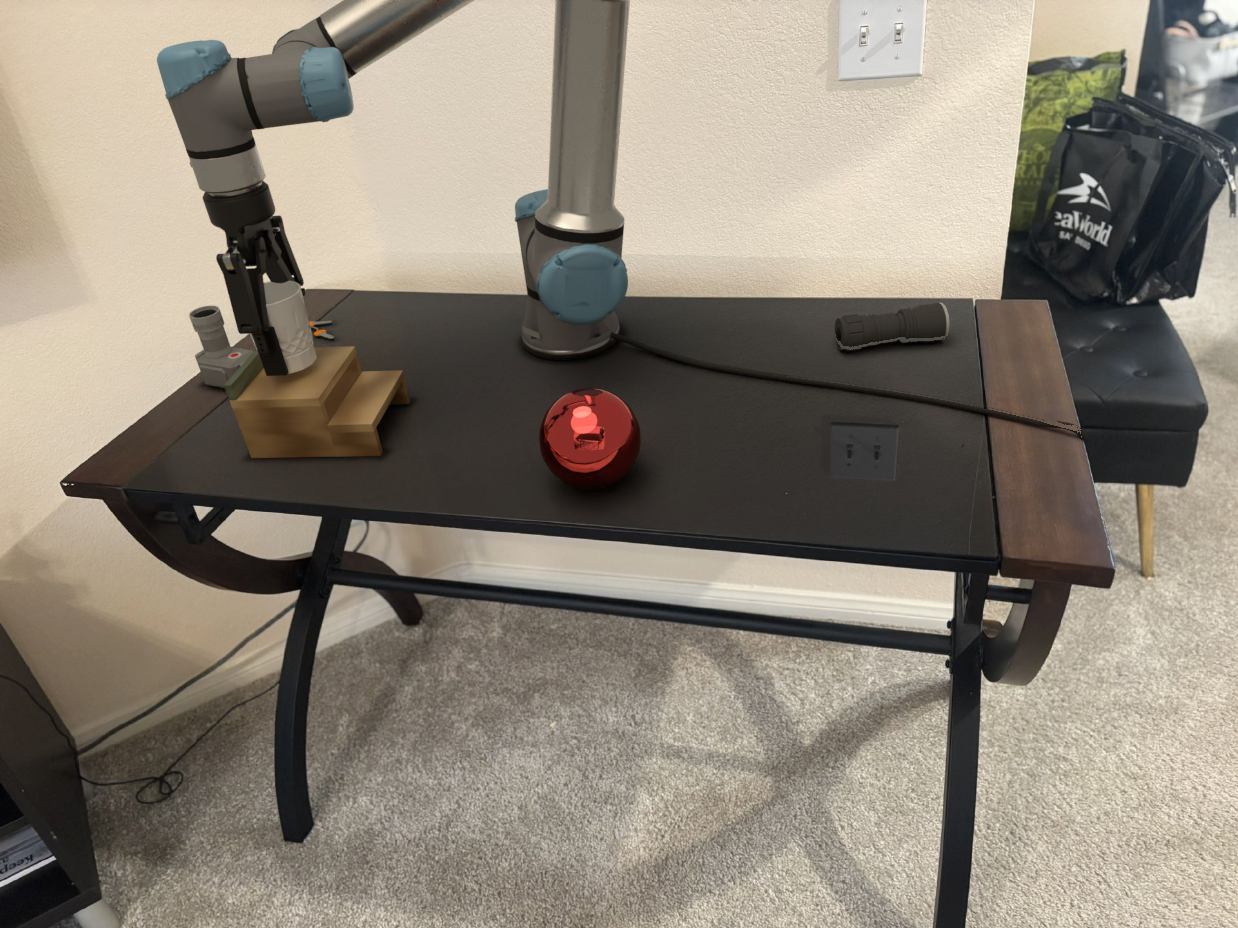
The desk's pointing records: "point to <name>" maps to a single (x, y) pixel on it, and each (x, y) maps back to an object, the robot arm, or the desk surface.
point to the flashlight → (893, 325)
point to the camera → (215, 347)
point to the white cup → (290, 324)
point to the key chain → (321, 332)
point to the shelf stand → (314, 406)
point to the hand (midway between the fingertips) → (290, 358)
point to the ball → (590, 438)
